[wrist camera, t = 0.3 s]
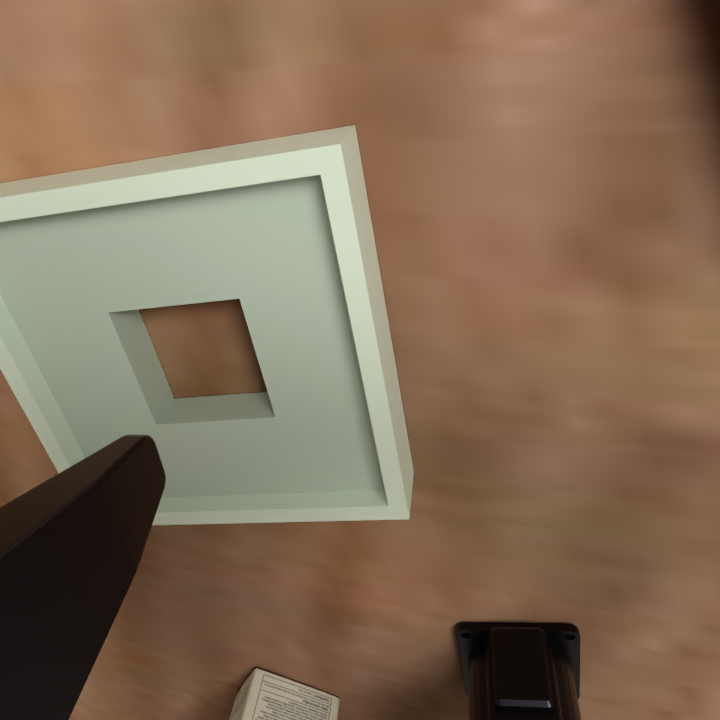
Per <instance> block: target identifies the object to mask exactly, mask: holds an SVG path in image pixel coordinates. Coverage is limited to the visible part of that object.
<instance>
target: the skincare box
mask: <svg viewBox="0 0 720 720" xmlns="http://www.w3.org/2000/svg"><path fill="white" fill-rule="evenodd" d="M339 704H340V699H339V698H337V697H335V696H333V695H330V694H327V693H325V692H322V691H319V690H317V689H314V688H311V687H308V686H306V685H303V684H300V683H297V682H295V681H292V680H289V679H286V678H284V677H281V676H278V675H275V674H272V673H269V672H266V671H264V670H261V669H258V668H256V669H254V671H253V672H252V673H251V675H250V676H249V677H248V679H247V680H246V681H245V683H244V684H243V686H242V687H241V689H240V690H239V692H238V694H237V696H236V698H235V702H234V705H233V709H232V712H231V716H230V719H229V720H337V718H338V710H339Z"/></svg>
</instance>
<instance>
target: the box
mask: <svg viewBox="0 0 720 720" xmlns="http://www.w3.org/2000/svg"><path fill="white" fill-rule="evenodd" d="M231 299H240V302H241V306H242V309H243V312H244V316H245V319H246V322H247V326H248V329H249V332H250V336H251V339H252V342H253V345H254V349H255V352H256V355H257V359H258V362H259V365H260V369H261V372H262V375H263V378H264V382H265V385H266V388H267V392H259V393H245V394H231V395H217V396H203V397H189V398H175V399H174V396H173V394H172V391H171V389H170V386H169V384H168V381H167V379H166V376H165V374H164V371H163V369H162V366H161V364H160V361H159V359H158V356H157V354H156V351H155V349H154V346H153V344H152V341H151V339H150V336H149V334H148V331H147V329H146V326H145V324H144V321H143V318H142V316H141V313H140V311H139V309H147V308H156V307H166V306H175V305H184V304H194V303H203V302H212V301H222V300H231ZM0 369H1V371H2V373H3V375H4V377H5V378H6V380H7V382H8V384H9V386H10V387H11V389H12V391H13V393H14V395H15V396H16V398H17V400H18V402H19V403H20V405H21V407H22V409H23V411H24V412H25V414H26V416H27V418H28V420H29V421H30V423H31V425H32V427H33V429H34V430H35V432H36V434H37V436H38V438H39V439H40V441H41V443H42V445H43V446H44V448H45V450H46V452H47V454H48V455H49V457H50V459H51V461H52V463H53V464H54V466H55V468H56V470H57V472H58V473H60V472H62V471H64V470H66V469H67V468H69V467H71V466H73V465H74V464H76V463H78V462H79V461H81V460H83V459H85V458H86V457H88V456H90V455H91V454H93V453H95V452H97V451H98V450H100V449H102V448H103V447H105V446H107V445H109V444H110V443H112V442H114V441H115V440H117V439H119V438H121V437H122V436H124V435H130V434H134V435H149V436H151V437H152V438H153V439H154V441H155V444H156V447H157V450H158V453H159V456H160V459H161V462H162V465H163V468H164V471H165V476H166V483H165V488H164V492H163V494H162V497H161V500H160V503H159V506H158V509H157V512H156V515H155V518H154V521H153V524H152V525H189V524H230V523H272V522H314V521H356V520H397V519H410V508H411V497H412V486H413V475H414V470H413V464H412V458H411V452H410V447H409V441H408V435H407V429H406V423H405V417H404V411H403V405H402V399H401V393H400V388H399V382H398V376H397V370H396V364H395V358H394V352H393V346H392V340H391V335H390V329H389V323H388V317H387V311H386V305H385V299H384V293H383V287H382V281H381V276H380V270H379V264H378V258H377V252H376V246H375V240H374V234H373V228H372V222H371V217H370V211H369V205H368V199H367V193H366V187H365V181H364V175H363V169H362V163H361V158H360V152H359V146H358V140H357V134H356V128H355V125H353V126H347V127H341V128H335V129H329V130H322V131H316V132H310V133H304V134H298V135H292V136H286V137H280V138H274V139H268V140H261V141H255V142H249V143H243V144H237V145H231V146H225V147H219V148H213V149H207V150H200V151H194V152H188V153H182V154H176V155H170V156H164V157H158V158H152V159H146V160H139V161H133V162H127V163H121V164H115V165H109V166H103V167H97V168H91V169H84V170H78V171H72V172H66V173H60V174H54V175H48V176H42V177H36V178H30V179H23V180H17V181H11V182H5V183H0Z"/></svg>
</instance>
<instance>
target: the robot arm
mask: <svg viewBox="0 0 720 720" xmlns="http://www.w3.org/2000/svg"><path fill="white" fill-rule="evenodd" d="M165 483H166V476H165V471H164V468H163V465H162V462H161V459H160V456H159V453H158V450H157V447H156V444H155V441H154V439H153V438H152V437H151V436H149V435H134V434H130V435H124V436H122V437H121V438H119V439H117V440H115V441H114V442H112V443H110V444H109V445H107V446H105V447H103V448H102V449H100V450H98V451H97V452H95V453H93V454H91V455H90V456H88V457H86V458H85V459H83V460H81V461H79V462H78V463H76V464H74V465H73V466H71V467H69V468H67V469H66V470H64V471H62V472H60V473H59V474H57V475H55V476H54V477H52V478H50V479H48V480H47V481H45V482H43V483H42V484H40V485H38V486H36V487H35V488H33V489H31V490H30V491H28V492H26V493H24V494H23V495H21V496H19V497H18V498H16V499H14V500H12V501H11V502H9V503H7V504H6V505H4V506H2V507H0V720H69V717H70V715H71V713H72V711H73V709H74V706H75V704H76V702H77V700H78V698H79V696H80V693H81V691H82V689H83V687H84V685H85V682H86V680H87V678H88V676H89V674H90V672H91V669H92V667H93V665H94V663H95V661H96V659H97V656H98V654H99V652H100V650H101V648H102V645H103V643H104V641H105V639H106V637H107V635H108V632H109V630H110V628H111V626H112V624H113V621H114V619H115V617H116V615H117V613H118V611H119V608H120V606H121V604H122V602H123V600H124V597H125V595H126V593H127V591H128V589H129V587H130V584H131V582H132V580H133V577H134V575H135V573H136V570H137V568H138V565H139V562H140V560H141V557H142V554H143V551H144V548H145V545H146V542H147V539H148V536H149V533H150V530H151V527H152V524H153V521H154V518H155V515H156V512H157V509H158V506H159V503H160V500H161V497H162V494H163V492H164V488H165ZM457 640H458V647H459V654H460V660H461V667H462V674H463V680H464V687H465V693H466V695H467V696H469V720H581V716H580V710H579V704H578V699H579V685H580V634H579V629H578V628H577V627H576V626H574V625H558V624H474V623H464V624H460V625H458V626H457Z"/></svg>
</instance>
